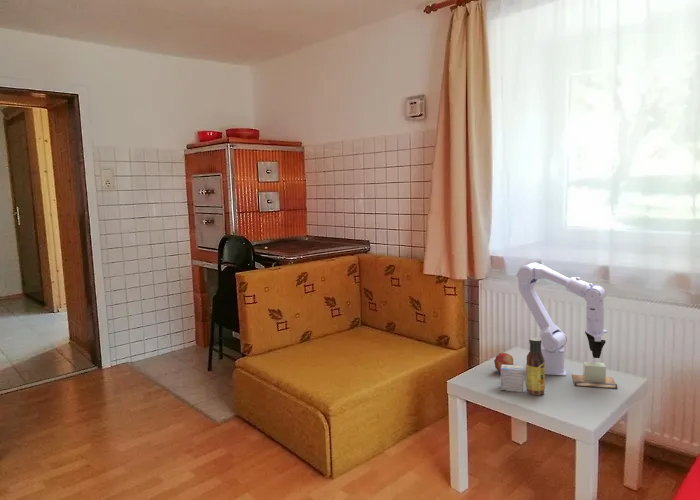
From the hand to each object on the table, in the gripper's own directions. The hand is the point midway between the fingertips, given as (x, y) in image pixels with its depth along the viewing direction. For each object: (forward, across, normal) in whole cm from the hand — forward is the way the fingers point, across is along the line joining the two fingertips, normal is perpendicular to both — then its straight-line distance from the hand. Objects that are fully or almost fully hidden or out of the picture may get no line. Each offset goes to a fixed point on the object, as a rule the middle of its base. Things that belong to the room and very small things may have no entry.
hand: (594, 354), depth 187 cm
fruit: (+10, +1, +32) cm, 34 cm away
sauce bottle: (+10, -15, +21) cm, 28 cm away
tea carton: (+10, 0, 0) cm, 10 cm away
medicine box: (+10, -14, +29) cm, 34 cm away
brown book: (+10, -1, 0) cm, 11 cm away
